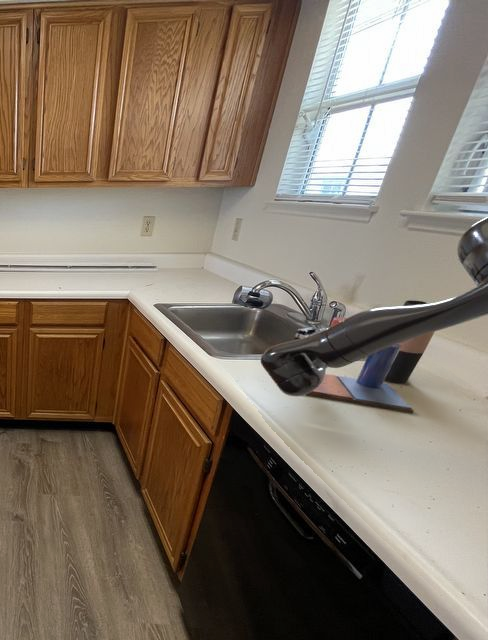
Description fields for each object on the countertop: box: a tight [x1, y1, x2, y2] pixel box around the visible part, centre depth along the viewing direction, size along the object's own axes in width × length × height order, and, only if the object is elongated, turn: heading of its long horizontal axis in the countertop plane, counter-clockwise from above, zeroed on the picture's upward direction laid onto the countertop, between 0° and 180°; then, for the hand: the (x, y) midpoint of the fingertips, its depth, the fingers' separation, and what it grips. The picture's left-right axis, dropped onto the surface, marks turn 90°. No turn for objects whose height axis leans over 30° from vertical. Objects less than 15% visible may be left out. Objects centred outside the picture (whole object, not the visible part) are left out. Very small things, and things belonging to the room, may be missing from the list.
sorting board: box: [305, 373, 414, 414], centre depth 103 cm, size 22×14×1 cm, turn 68°
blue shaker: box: [356, 344, 402, 389], centre depth 102 cm, size 5×5×11 cm
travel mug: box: [384, 299, 435, 385], centre depth 106 cm, size 8×8×20 cm
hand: (342, 334), depth 99 cm, fingers closed on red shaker, 4 cm apart
